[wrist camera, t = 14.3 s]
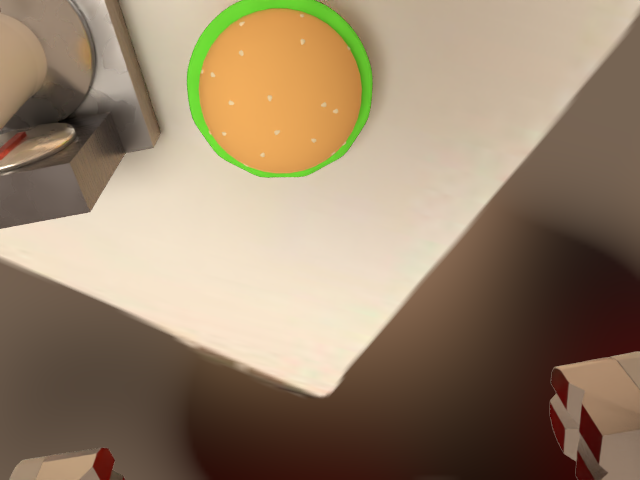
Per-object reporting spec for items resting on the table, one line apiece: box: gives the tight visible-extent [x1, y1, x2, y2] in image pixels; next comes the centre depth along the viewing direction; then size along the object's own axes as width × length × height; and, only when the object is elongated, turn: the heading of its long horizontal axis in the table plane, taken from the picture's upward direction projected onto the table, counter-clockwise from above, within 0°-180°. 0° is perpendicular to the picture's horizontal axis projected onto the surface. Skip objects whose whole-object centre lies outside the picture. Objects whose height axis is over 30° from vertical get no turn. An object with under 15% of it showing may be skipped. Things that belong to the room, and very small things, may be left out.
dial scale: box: [0, 0, 161, 229], centre depth 34 cm, size 13×13×12 cm
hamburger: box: [187, 0, 373, 178], centre depth 37 cm, size 12×12×9 cm
